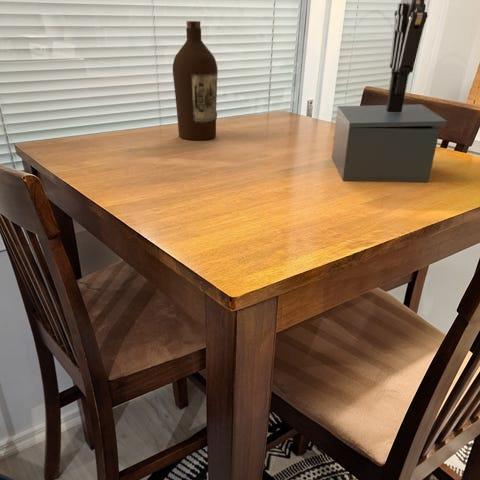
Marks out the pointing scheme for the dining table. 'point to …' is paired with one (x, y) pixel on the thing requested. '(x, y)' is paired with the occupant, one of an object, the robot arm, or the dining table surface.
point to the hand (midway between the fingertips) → (393, 111)
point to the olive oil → (195, 87)
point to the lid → (389, 116)
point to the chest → (384, 152)
